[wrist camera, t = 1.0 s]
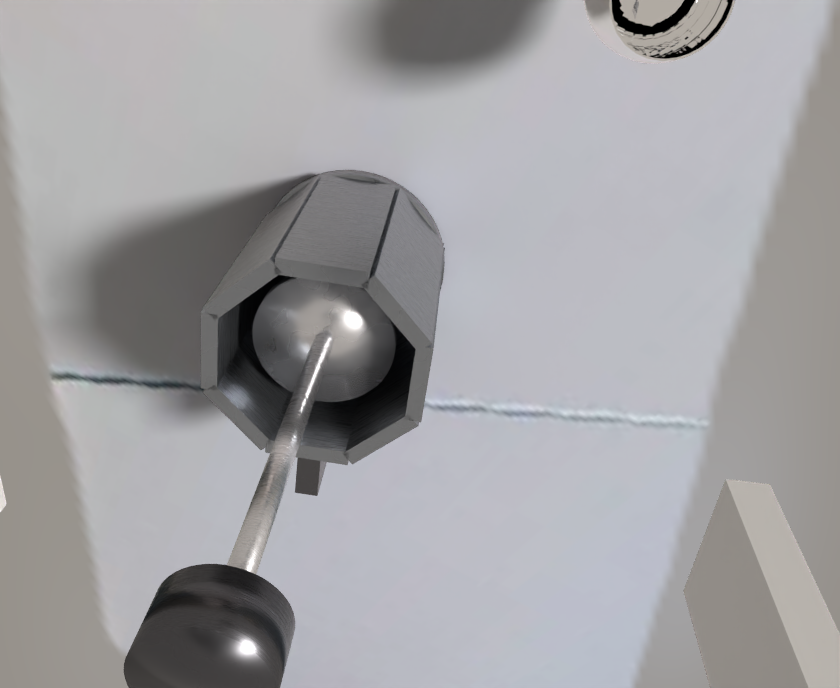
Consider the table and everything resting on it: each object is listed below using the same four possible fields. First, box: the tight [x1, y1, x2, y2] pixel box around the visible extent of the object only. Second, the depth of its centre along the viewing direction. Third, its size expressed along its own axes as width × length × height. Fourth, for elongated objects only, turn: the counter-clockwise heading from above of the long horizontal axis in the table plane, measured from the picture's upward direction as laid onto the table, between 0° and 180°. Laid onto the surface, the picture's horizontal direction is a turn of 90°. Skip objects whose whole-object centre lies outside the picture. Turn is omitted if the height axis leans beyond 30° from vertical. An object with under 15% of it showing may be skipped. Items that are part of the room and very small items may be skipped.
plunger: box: [124, 276, 397, 688], centre depth 31 cm, size 7×7×21 cm
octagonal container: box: [201, 170, 445, 496], centre depth 44 cm, size 14×11×13 cm
